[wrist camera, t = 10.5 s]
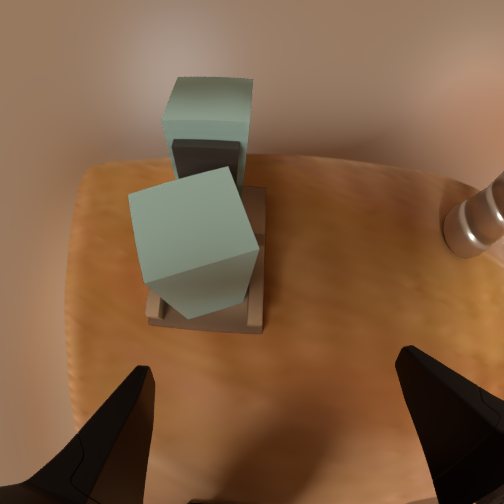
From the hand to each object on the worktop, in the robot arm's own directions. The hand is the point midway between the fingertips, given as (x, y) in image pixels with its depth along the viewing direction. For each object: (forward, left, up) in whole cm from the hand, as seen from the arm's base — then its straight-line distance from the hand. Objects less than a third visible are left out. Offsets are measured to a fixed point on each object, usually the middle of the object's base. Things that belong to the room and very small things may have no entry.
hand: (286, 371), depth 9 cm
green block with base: (+9, +4, -14) cm, 17 cm away
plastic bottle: (+13, -24, -14) cm, 31 cm away
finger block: (+5, +4, -13) cm, 14 cm away
